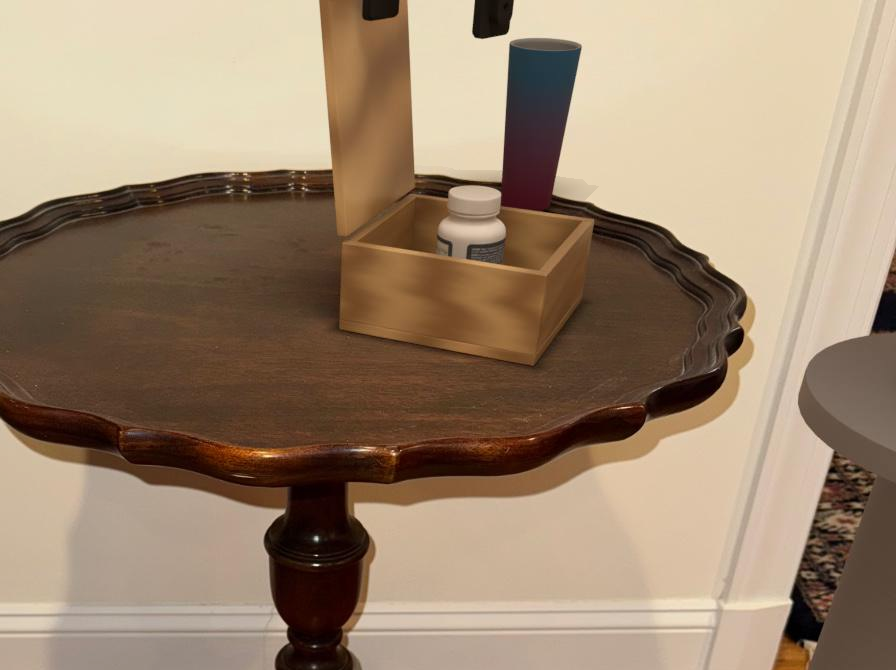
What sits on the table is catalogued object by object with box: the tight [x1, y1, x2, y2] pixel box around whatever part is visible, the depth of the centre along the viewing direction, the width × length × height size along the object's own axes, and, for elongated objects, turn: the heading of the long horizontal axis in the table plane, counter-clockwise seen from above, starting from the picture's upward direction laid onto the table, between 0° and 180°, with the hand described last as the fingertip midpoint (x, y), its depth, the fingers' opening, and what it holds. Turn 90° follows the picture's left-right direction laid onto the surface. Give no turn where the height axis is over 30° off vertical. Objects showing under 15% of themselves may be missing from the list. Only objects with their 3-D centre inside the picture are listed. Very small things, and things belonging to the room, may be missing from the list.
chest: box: [338, 193, 595, 367], centre depth 89 cm, size 16×15×7 cm
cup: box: [500, 37, 583, 212], centre depth 111 cm, size 7×7×15 cm
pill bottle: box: [436, 184, 506, 265], centre depth 88 cm, size 5×5×9 cm
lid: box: [318, 0, 416, 237], centre depth 85 cm, size 16×15×1 cm
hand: (433, 27), depth 76 cm, fingers open, 9 cm apart
